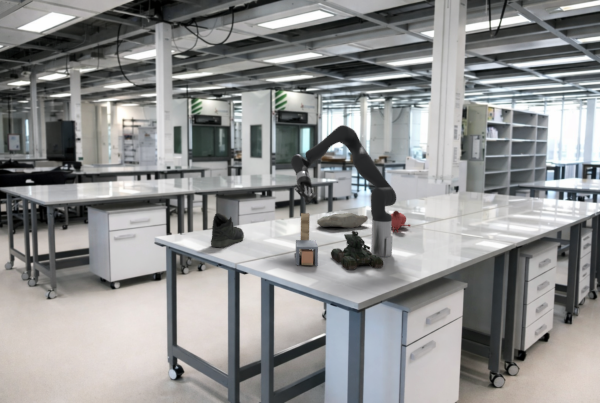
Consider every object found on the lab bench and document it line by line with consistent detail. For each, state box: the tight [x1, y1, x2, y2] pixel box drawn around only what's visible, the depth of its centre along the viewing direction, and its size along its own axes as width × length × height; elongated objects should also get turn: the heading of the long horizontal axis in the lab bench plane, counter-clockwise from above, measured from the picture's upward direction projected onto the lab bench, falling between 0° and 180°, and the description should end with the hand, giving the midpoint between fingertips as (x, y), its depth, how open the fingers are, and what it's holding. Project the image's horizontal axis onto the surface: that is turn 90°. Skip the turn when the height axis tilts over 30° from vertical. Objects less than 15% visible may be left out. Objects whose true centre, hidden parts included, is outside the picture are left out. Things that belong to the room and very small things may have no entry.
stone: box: [316, 212, 368, 229], centre depth 306 cm, size 33×9×20 cm
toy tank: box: [330, 230, 384, 271], centre depth 217 cm, size 17×27×14 cm, turn 14°
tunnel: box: [295, 239, 319, 267], centre depth 218 cm, size 14×9×8 cm
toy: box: [390, 210, 411, 233], centre depth 302 cm, size 18×17×30 cm
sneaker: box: [210, 212, 245, 248], centre depth 255 cm, size 12×29×17 cm, turn 166°
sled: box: [299, 212, 314, 266], centre depth 222 cm, size 27×5×19 cm, turn 2°
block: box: [300, 249, 314, 264], centre depth 212 cm, size 5×5×5 cm
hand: (308, 202), depth 241 cm, fingers closed
